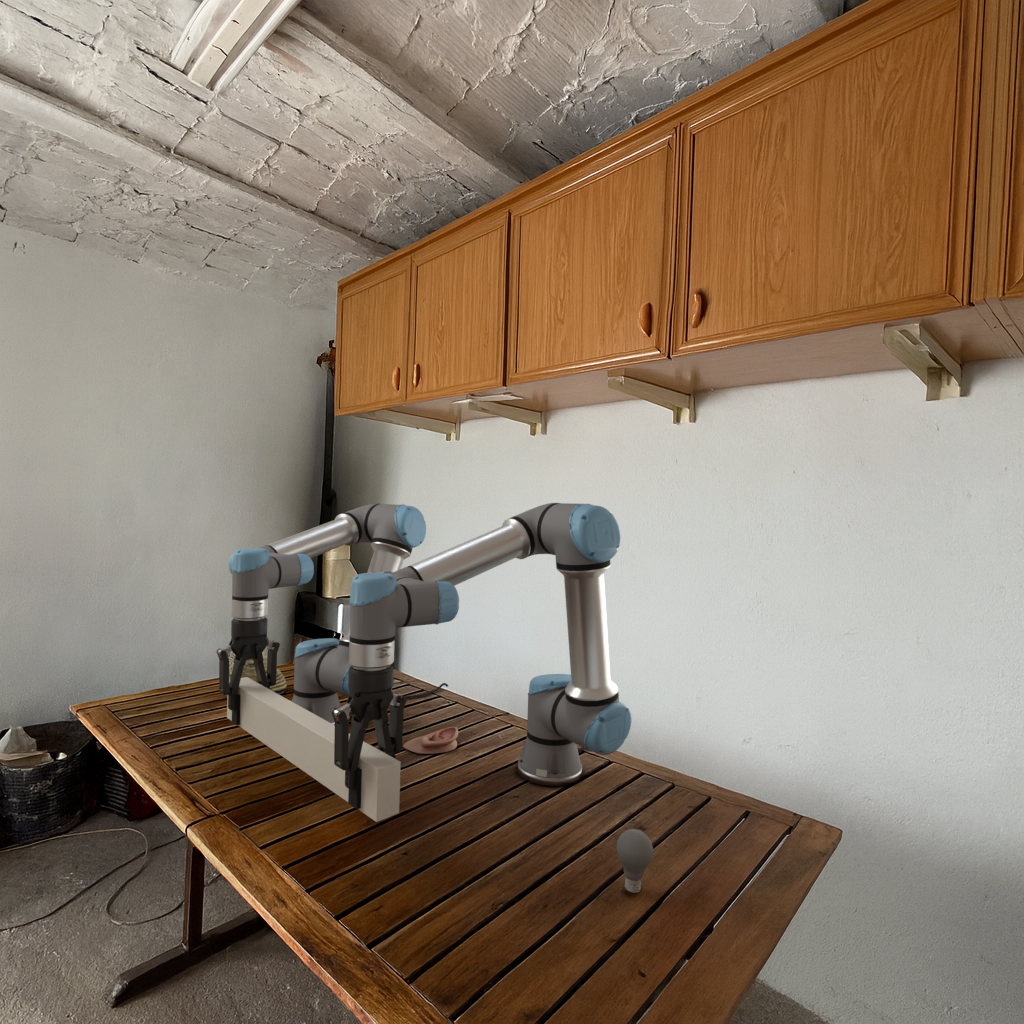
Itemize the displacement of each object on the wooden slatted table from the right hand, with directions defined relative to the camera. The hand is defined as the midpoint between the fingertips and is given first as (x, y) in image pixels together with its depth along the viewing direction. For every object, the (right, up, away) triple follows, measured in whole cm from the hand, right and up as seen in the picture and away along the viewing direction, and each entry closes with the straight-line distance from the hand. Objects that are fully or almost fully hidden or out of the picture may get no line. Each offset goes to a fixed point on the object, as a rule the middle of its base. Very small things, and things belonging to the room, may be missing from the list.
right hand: (367, 800), depth 108 cm
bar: (-18, +1, +17) cm, 25 cm away
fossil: (-56, -8, +90) cm, 106 cm away
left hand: (-35, +2, +35) cm, 49 cm away
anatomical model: (+4, -11, +55) cm, 57 cm away
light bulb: (+45, -14, -2) cm, 47 cm away
